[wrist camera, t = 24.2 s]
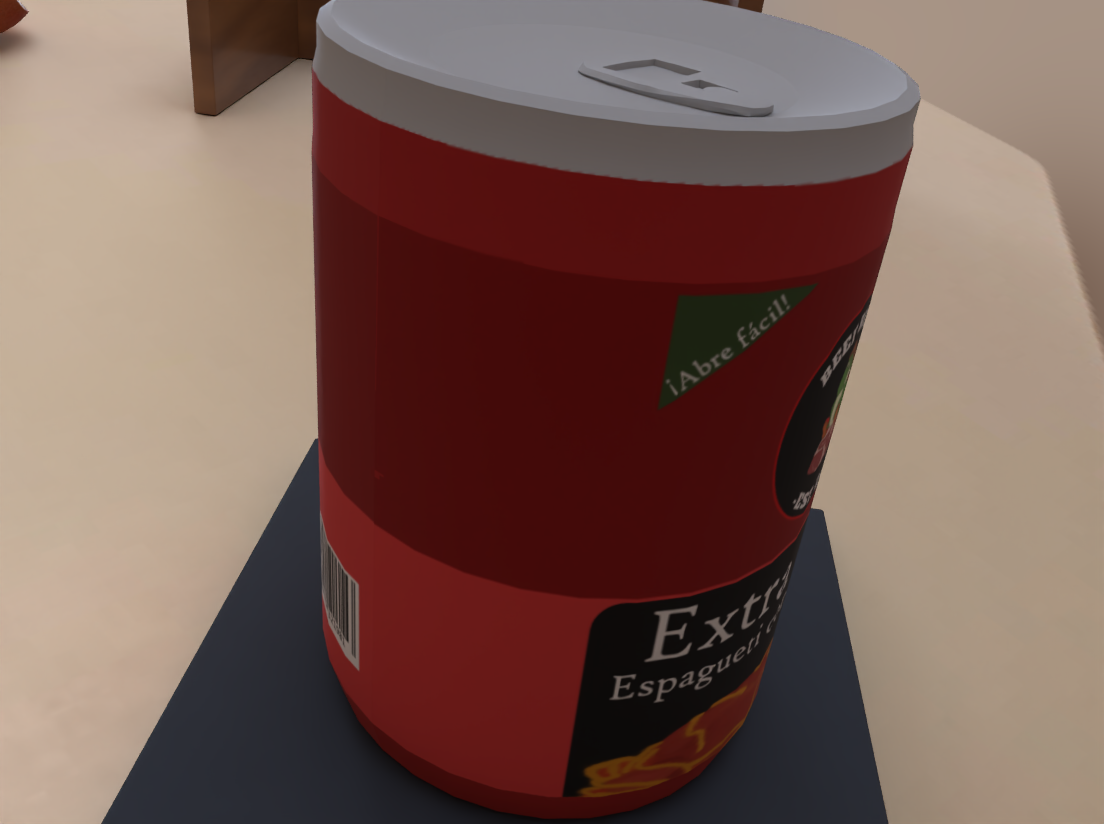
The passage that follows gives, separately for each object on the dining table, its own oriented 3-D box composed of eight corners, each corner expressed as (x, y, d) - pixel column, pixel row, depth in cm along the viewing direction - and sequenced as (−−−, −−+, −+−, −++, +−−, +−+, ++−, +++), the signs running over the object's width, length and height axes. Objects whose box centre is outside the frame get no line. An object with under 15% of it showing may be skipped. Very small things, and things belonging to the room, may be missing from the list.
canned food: (649, 929, 15) (835, 179, 9) (223, 690, 18) (163, 10, 12) (806, 621, 21) (979, 51, 15) (468, 480, 24) (504, -42, 18)
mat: (818, 529, 25) (824, 508, 24) (922, 1060, 14) (934, 1036, 14) (315, 457, 25) (315, 436, 25) (63, 923, 15) (57, 897, 14)
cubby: (717, 107, 57) (746, -51, 53) (728, 183, 46) (766, -10, 42) (286, 51, 58) (281, -109, 54) (194, 112, 47) (179, -83, 43)
